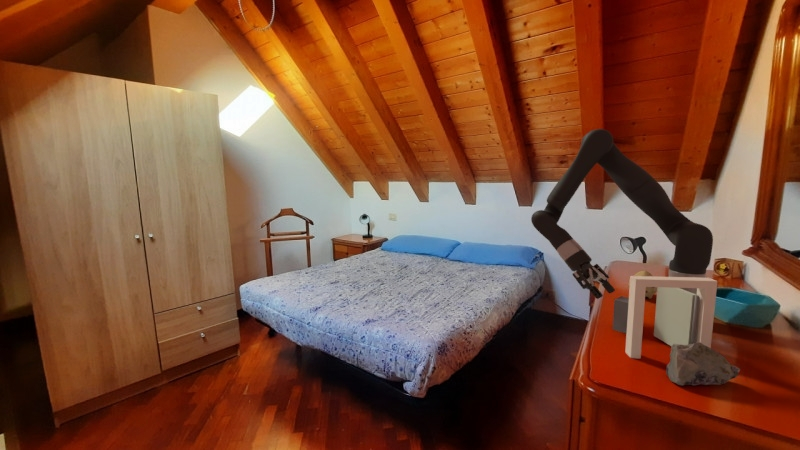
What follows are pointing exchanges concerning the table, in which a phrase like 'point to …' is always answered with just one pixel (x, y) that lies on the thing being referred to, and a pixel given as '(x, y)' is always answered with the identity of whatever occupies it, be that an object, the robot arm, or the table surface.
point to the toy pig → (649, 290)
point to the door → (676, 316)
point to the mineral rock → (699, 365)
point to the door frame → (639, 284)
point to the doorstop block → (620, 314)
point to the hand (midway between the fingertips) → (606, 294)
